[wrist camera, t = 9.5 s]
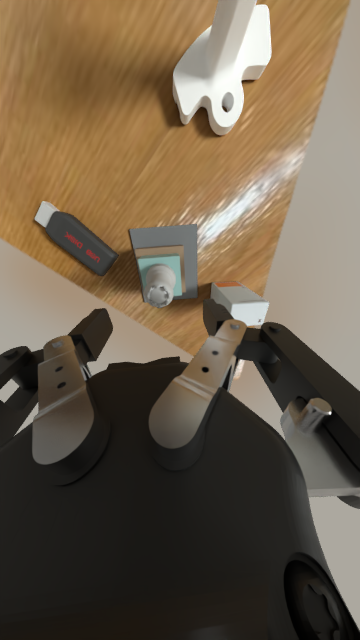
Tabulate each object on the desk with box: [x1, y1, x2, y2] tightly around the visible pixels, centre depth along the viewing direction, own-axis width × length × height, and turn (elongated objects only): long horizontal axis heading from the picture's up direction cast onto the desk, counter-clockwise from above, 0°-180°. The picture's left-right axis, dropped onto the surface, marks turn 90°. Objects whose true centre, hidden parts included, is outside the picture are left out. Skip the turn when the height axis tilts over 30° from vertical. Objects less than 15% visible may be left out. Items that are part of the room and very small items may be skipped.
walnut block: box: [135, 245, 186, 293], centre depth 27 cm, size 8×8×4 cm
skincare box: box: [210, 282, 269, 326], centre depth 28 cm, size 6×4×12 cm
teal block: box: [138, 253, 182, 296], centre depth 24 cm, size 6×6×4 cm
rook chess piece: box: [144, 263, 176, 308], centre depth 19 cm, size 4×4×8 cm
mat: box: [129, 224, 197, 302], centre depth 29 cm, size 14×12×1 cm
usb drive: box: [35, 201, 119, 276], centre depth 25 cm, size 5×12×3 cm, turn 45°
